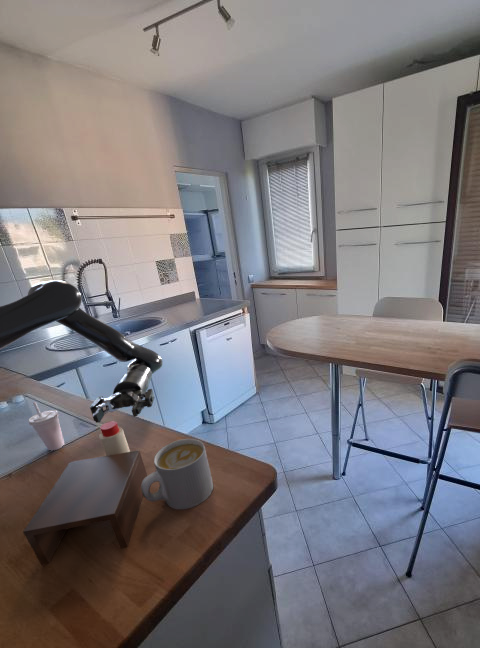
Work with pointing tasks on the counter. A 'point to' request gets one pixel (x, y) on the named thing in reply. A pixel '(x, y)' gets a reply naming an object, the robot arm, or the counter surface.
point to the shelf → (89, 501)
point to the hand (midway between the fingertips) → (115, 416)
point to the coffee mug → (180, 475)
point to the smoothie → (48, 428)
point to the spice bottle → (113, 439)
